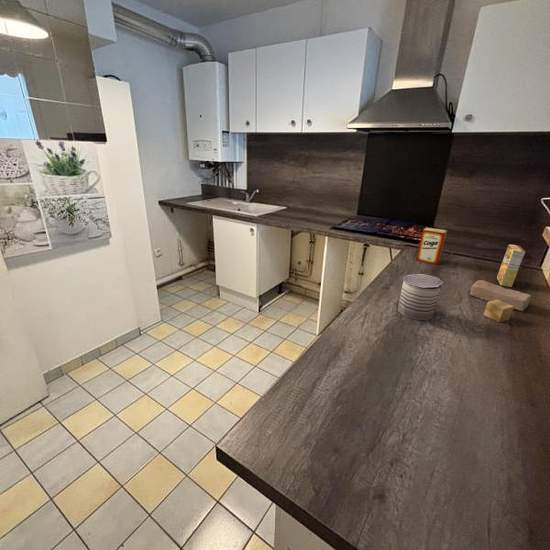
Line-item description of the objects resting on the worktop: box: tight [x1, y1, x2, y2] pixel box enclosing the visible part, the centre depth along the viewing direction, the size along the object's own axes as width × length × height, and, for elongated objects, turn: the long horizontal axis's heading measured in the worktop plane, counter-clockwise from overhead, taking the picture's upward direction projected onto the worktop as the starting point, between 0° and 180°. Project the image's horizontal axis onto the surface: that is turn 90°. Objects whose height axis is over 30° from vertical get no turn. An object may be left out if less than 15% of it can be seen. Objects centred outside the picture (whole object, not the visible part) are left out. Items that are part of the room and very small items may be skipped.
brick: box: [469, 279, 532, 312], centre depth 106 cm, size 17×8×5 cm, turn 41°
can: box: [397, 273, 445, 321], centre depth 95 cm, size 11×11×12 cm
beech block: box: [483, 300, 514, 323], centre depth 94 cm, size 5×5×5 cm
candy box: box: [496, 244, 526, 288], centre depth 119 cm, size 9×4×15 cm, turn 153°
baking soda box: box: [415, 227, 448, 266], centre depth 142 cm, size 10×6×16 cm
